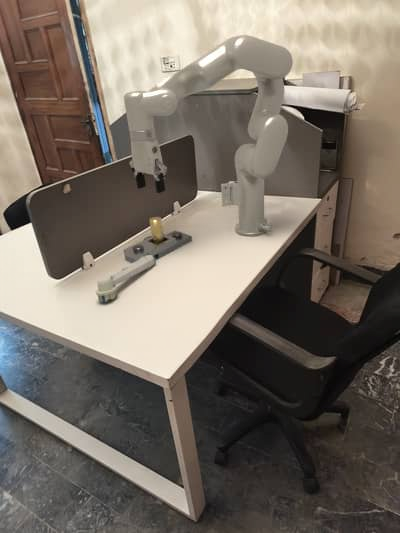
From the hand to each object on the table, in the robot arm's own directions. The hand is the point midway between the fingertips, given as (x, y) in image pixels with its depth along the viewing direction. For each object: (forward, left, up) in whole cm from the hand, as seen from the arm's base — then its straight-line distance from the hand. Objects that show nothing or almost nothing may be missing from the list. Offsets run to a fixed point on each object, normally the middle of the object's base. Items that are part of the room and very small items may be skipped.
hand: (151, 189), depth 121 cm
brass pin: (0, 0, -22) cm, 22 cm away
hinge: (+4, -50, -23) cm, 55 cm away
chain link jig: (0, 0, -22) cm, 22 cm away
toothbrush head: (-9, +21, -23) cm, 32 cm away
